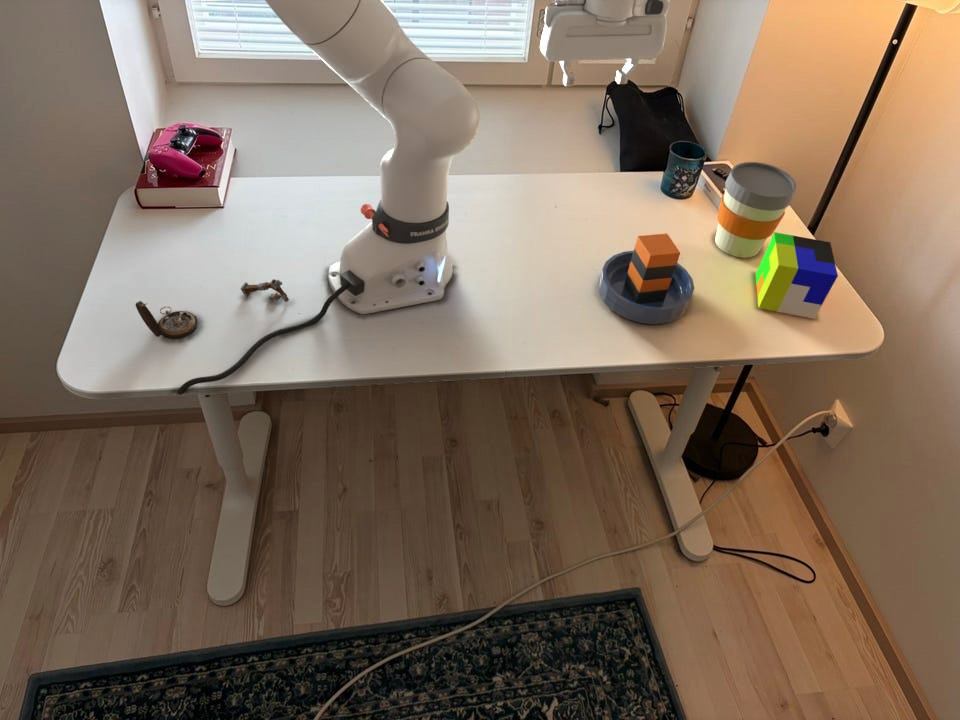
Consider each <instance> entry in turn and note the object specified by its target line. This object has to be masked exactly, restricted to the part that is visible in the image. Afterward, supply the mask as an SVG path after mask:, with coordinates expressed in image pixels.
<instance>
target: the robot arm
mask: <svg viewBox="0 0 960 720" xmlns="http://www.w3.org/2000/svg"><path fill="white" fill-rule="evenodd" d="M264 1H265V2H266V4H267V5H268V6H269V8H270V9H271V10H272V11H273V12H274V14H275V15H276V16H277V17H278V18H279V19H280V21H281V22H282V23H283V24H284V25H285V26H286V27H287V28H288V29H289V31H290V32H292V33H293V34H294V35H295V36H296V37H297V38H298V39H299V40H300V41H301V42H302V43H303V44H304V45H305V46H306V47H307V48H309V50H311V51H312V52H313V53H314V54H315V55H316V56H317V57H318V58H319V59H321V61H323V62H324V63H325V64H326V65H327V66H328V67H329V68H330V69H331V70H332V71H333V72H335V74H336V75H338V76H339V77H340V78H341V79H342V80H343V81H344V82H345V83H346V84H348V85H349V87H351V88H352V89H353V90H354V91H355V92H356V93H357V94H358V95H359V96H360V97H362V99H364V101H366V102H367V103H368V104H369V105H370V106H371V107H372V108H373V109H375V111H377V112H378V113H379V114H380V115H381V116H382V117H383V118H384V119H386V121H388V122H389V123H390V126H391V128H392V130H393V134H394V144H393V148H392V149H391V150H389V151H387V153H386V154H385V155H384V156H383V157H382V159H381V161H380V164H379V165H380V167H379V173H380V200H379V202H378V204H377V207H376V209H374V208H373V207H372V205H371V204H370V203H364V204H363V205H361V207H360V210H359V211H360V213H361V214H362V216H364V218H365V219H366V220H371V221H370V223H368V224H367V225H366V226H365V227H364V228H363V229H361V231H360V232H358V233H357V234H356V235H355V236H353V238H351V239H350V240H349V241H348V242H347V243H345V244H344V246H343V247H342V250H341V254H340V258H339V259H340V260H339V261H337V262H335V263H333V264H331V265H330V266H329V267H328V271H327V279H328V283H329V287H330V288H331V290H332V292H333V293H331V295H329V297H328V298H327V299H326V300H325V302H324V303H323V305H322V308H321V310H320V311H319V313H318V314H316V315H315V316H314V317H312V318H311V319H309V320H306V321H304V322H302V323H299V324H295V325H291V326H287V327H284V328H279V329H277V330H275V331H272V332H269V333H267V334H266V335H264V336H263V337H261V338H260V339H259V340H256V342H255V343H254V344H253V345H252V346H251V347H250V348H248V350H247V351H246V352H245V353H244V354H243V356H242V357H240V359H238V361H237V362H235V364H233V365H232V366H230V367H229V368H228V369H226V370H225V371H222V372H220V373H218V374H213V375H209V376H207V375H206V376H200V377H195V378H192V379H189V380H187V381H185V382H184V383H182V385H181V386H180V387H179V389H178V390H177V395H182V394H184V393H185V392H186V391H187V390H188V389H189V388H190V387H193V386H194V385H198V384H205V383H213V382H217V381H221V380H224V379H226V378H228V377H230V376H231V375H233V374H234V373H236V372H237V371H238V370H239V369H241V367H243V366H244V365H245V364H246V363H247V362H248V361H249V359H250V358H251V357H252V356H253V355H254V353H255V352H256V351H257V350H258V349H260V348H261V347H263V345H264V344H266V343H268V342H269V341H270V340H273V339H274V338H276V337H279V336H281V335H285V334H289V333H292V332H295V331H299V330H302V329H304V328H305V329H306V328H307V327H310V326H313V325H314V324H316V323H317V322H319V321H321V320H322V319H323V318H324V317H325V316H326V314H327V312H328V310H329V307H330V305H332V303H333V302H334V301H335V300H336V299H338V300H339V301H340V302H341V303H342V304H343V305H344V306H345V307H347V308H348V309H349V310H351V311H353V312H355V313H357V314H359V315H367V314H368V315H369V314H374V313H378V312H384V311H388V310H394V309H399V308H405V307H409V306H416V305H419V304H424V303H430V302H434V301H439V300H441V299H443V297H444V293H445V288H446V286H447V284H448V283H449V282H450V280H451V279H452V277H453V272H454V271H453V269H454V268H453V265H452V261H451V258H450V255H449V248H448V247H449V246H448V238H447V236H448V235H447V229H448V227H449V223H450V204H449V201H448V187H449V175H450V168H451V164H452V161H453V159H454V156H457V155H459V154H460V153H462V152H463V151H465V150H466V149H468V147H469V146H470V145H471V144H472V143H473V141H474V139H475V138H476V136H477V134H478V132H479V128H480V125H481V111H480V108H479V105H478V104H477V102H476V101H475V99H474V98H473V96H472V95H471V94H470V91H468V89H467V88H466V87H465V86H464V84H463V83H462V82H461V81H460V80H458V78H456V77H455V76H453V74H451V73H449V71H446V70H445V69H444V68H443V67H442V66H441V65H439V64H438V63H437V62H435V61H434V60H432V58H430V57H429V56H428V55H427V54H426V53H424V52H423V51H422V50H421V49H420V48H419V47H418V46H416V44H415V43H414V42H413V41H412V40H411V39H410V38H409V36H408V35H407V34H406V32H405V31H404V29H403V28H402V26H400V23H399V21H398V17H397V16H396V15H395V14H394V12H392V10H391V8H389V7H388V5H387V4H385V2H384V1H383V0H264ZM669 9H670V1H669V0H552V1H551V2H550V3H549V4H547V6H546V7H545V13H544V27H543V30H542V35H541V39H540V44H539V49H540V52H541V54H542V55H543V57H544V58H545V59H546V60H547V61H548V62H553V63H554V62H559V66H560V67H561V70H562V72H563V77H562V84H563V85H564V87H575V84H576V82H575V81H576V78H577V76H576V74H575V73H574V72H573V71H570V70H569V68H572V66H573V62H583V61H609V60H626V63H625V64H624V66H623V67H622V69H618V70H616V76H615V82H616V84H617V85H626V84H628V81H629V78H630V77H629V76H630V75H631V73H632V72H633V71H635V69H636V68H637V66H638V65H639V61H640V60H641V59H642V60H643V59H656V58H658V56H659V55H660V54H661V53H662V52H663V50H664V47H665V46H664V45H665V42H666V36H667V31H668V20H667V17H666V16H665V15H666V14H667V13H668V11H669Z"/></svg>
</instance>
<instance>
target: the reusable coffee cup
mask: <svg viewBox="0 0 960 720" xmlns="http://www.w3.org/2000/svg"><path fill="white" fill-rule="evenodd" d="M724 187H725V190H724V192H723V194H722V195H721V199H720V204H719V208H718V213H717V222H718V224H717V227H716V233H715V236H714V242H715V245H716V246H717V248H719V250H721V251H722V252H724V253H726V254H728V255H729V256H732V257H735V258H743V259H744V258H745V259H746V258H747V259H748V258H753V257H755V256H756V255H758V254H759V253H760V251H761V249H762V247H763V246H764V244H765V243H766V241H767V240H768V238H770V237H771V236H773V234H774V232H776V229H777V227H778V226H779V225H780V223H781V221H782V219H783V218H784V216H785V212H786V209H787V208H788V207H789V206H790V205H791V204H792V202H793V199H794V196H795V193H796V189H797V183H796V181H795V179H794V178H793V176H792V175H790V174H789V173H788V172H787V171H785V170H783V169H781V168H779V167H778V166H774V165H772V164H768V163H764V162H759V161H745V162H740V163H738V164H736V165H734V166H733V168H732V169H731V170H730V171H729V174H728V176H727V178H726V180H725V183H724Z"/></svg>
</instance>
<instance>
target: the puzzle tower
mask: <svg viewBox="0 0 960 720" xmlns="http://www.w3.org/2000/svg"><path fill="white" fill-rule="evenodd" d="M632 251H633V255H632V259H631V262H630V266H629V269H628V273H627V276H626V280H625V283H624V285H625V287H626V288H627V290H628V292H629V294H630V295H631V297H632V299H633V300H634V302H635V303H637V304H644V303H652V302H661V301H664V300H665V297H666V294H667V291H668V288H669V285H670V282H671V279H672V276H673V273H674V271H675V268H676V265H677V263H679V259H680V255H681V251H680V249H679V248H678V247H677V245H676V244H675V242H674V241H673V239H672V238H671V236H670V235H669V234H668V233H657V234H646V235H638V236H637V237H636V241H635V244H634V249H633V250H632Z"/></svg>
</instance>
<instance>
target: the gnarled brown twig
mask: <svg viewBox="0 0 960 720" xmlns="http://www.w3.org/2000/svg"><path fill="white" fill-rule="evenodd" d="M282 285H283V282H282V281H281V280H279V279H271V281H269V282H267V281H265V282H261V283H260V282H259V283H258V284H249V283H248V282H244V283H243V285H242V286H241V287H240V288H239V290H240V291H241V292H242V294H243V296H244V297H245V298H246V297H248V296H249V295H250V294H251V293H254V292H258V291H259V292H262V291H268V290H269V289H272V290H273V291H274V292H275V293H271V294H270V295H269V296H268V299H269V300H271V302H274V301H276V302H278V301H279V300H280V299H282V300H283V301H284V302H285V303H287V302H289V301H290V298H289V296H288V294H287V293H286V292H285V291H284V290H283V288H282V287H281V286H282Z"/></svg>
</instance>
